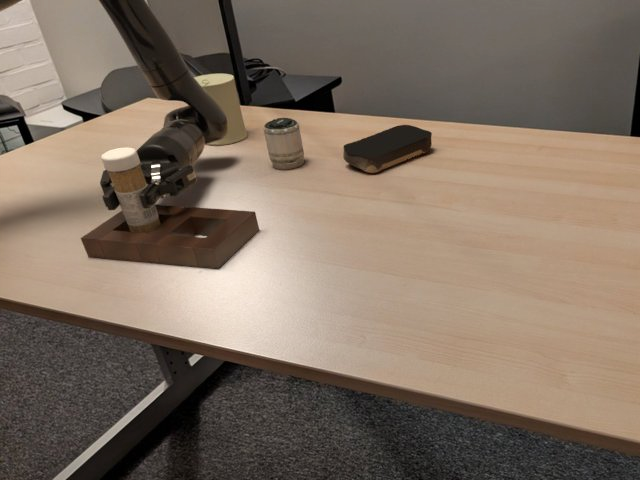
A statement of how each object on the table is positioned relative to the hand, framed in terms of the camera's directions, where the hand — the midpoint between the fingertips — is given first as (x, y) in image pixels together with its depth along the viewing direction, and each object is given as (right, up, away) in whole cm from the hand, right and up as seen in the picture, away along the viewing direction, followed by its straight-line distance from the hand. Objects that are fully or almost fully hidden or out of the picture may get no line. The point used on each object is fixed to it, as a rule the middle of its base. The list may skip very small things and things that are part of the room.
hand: (126, 202), depth 90 cm
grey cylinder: (+15, +13, +30) cm, 36 cm away
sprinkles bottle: (0, -4, +7) cm, 8 cm away
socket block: (+5, -5, +5) cm, 9 cm away
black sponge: (+34, +14, +30) cm, 47 cm away
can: (-1, +22, +43) cm, 49 cm away
